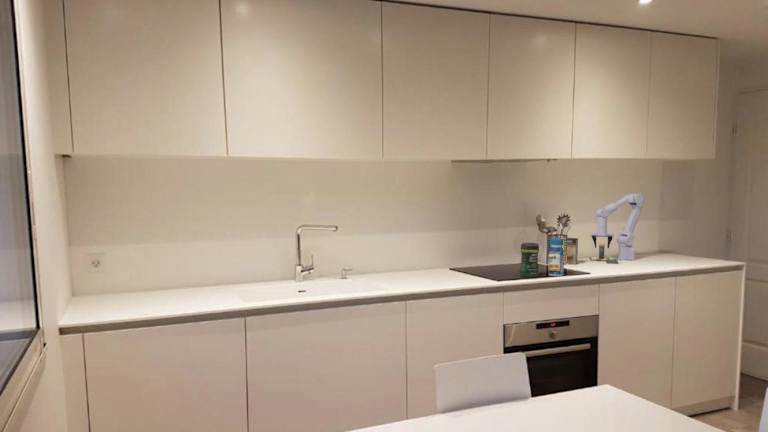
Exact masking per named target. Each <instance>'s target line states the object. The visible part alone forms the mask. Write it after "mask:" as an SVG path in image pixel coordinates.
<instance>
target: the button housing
mask: <svg viewBox="0 0 768 432" xmlns="http://www.w3.org/2000/svg"><path fill="white" fill-rule="evenodd" d="M618 260H619V259H618V258H615V260H609V259H606V261H605V263H606V264H610V265H611V264H614V265H616V264H618V263H619V261H618Z"/></svg>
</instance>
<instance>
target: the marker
mask: <svg viewBox="0 0 768 432" xmlns="http://www.w3.org/2000/svg"><path fill="white" fill-rule="evenodd" d="M598 258H599V259H604V258H605V243H598Z"/></svg>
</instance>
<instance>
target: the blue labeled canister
mask: <svg viewBox="0 0 768 432" xmlns="http://www.w3.org/2000/svg"><path fill="white" fill-rule="evenodd" d="M549 245H550V247H549V248H548V255H547V258H548V261H547V263H548V267H547V270H548V271H547V273H548V276H553V277H562V276H564V272H565V271H564V268H565V267H564V266H565V264H564V254H563V253H564V250H563V248H562V245H563V239H562V238H551V239H550V240H549Z"/></svg>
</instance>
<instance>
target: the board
mask: <svg viewBox="0 0 768 432" xmlns="http://www.w3.org/2000/svg"><path fill="white" fill-rule="evenodd" d="M588 258H589V261H591V262H592V261H593V262H594V261H595V262H606V259H609V257H604V259H599V257H593V256H592V257H590V256H589V257H588Z"/></svg>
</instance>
